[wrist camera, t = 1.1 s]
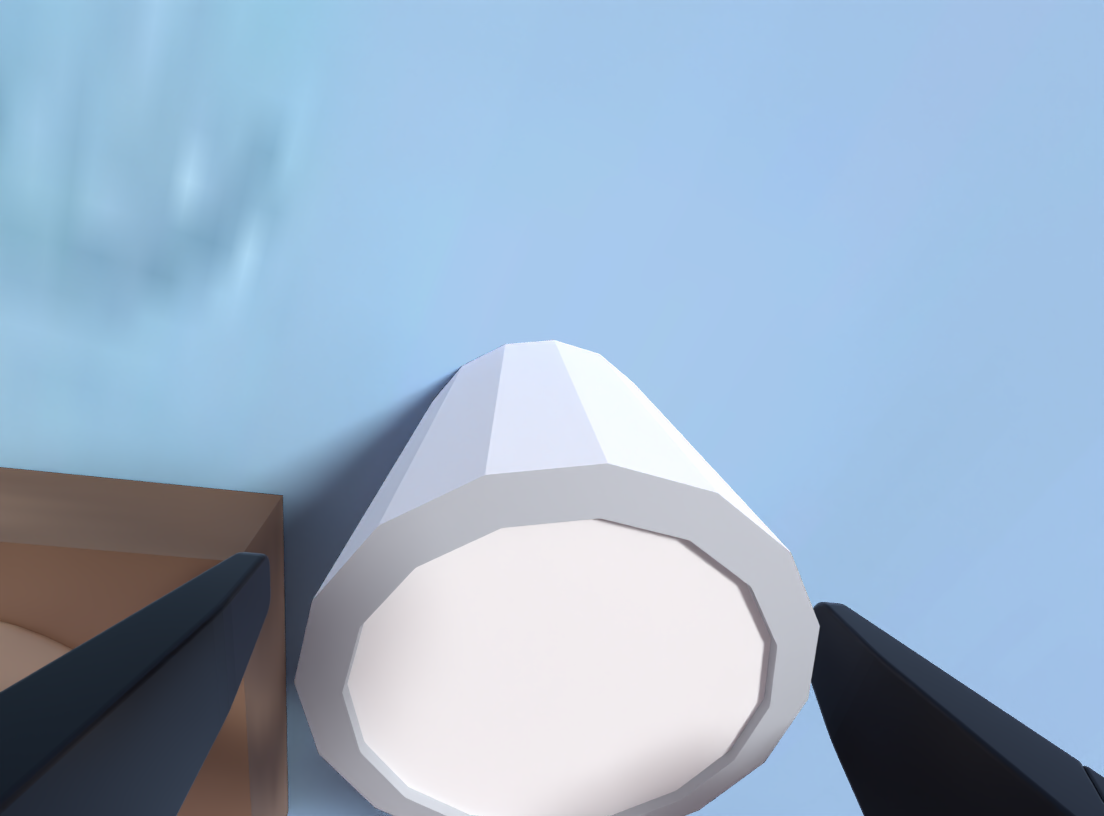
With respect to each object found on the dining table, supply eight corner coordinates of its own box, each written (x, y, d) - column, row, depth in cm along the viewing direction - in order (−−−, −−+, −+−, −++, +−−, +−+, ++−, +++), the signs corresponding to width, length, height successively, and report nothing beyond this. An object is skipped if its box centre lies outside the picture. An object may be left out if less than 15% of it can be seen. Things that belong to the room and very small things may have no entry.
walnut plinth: (287, 811, 18) (254, 910, 16) (-137, 798, 17) (-247, 907, 14) (282, 495, 14) (233, 566, 11) (-301, 437, 12) (-505, 505, 10)
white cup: (586, 598, 16) (639, 898, 9) (350, 501, 14) (214, 789, 7) (732, 397, 14) (935, 605, 7) (476, 254, 12) (437, 357, 5)
